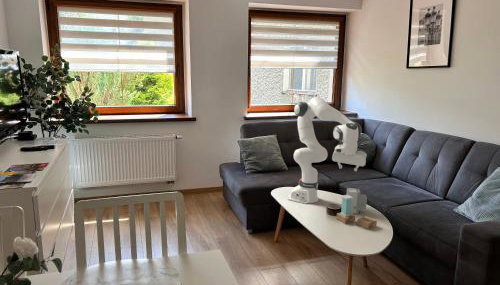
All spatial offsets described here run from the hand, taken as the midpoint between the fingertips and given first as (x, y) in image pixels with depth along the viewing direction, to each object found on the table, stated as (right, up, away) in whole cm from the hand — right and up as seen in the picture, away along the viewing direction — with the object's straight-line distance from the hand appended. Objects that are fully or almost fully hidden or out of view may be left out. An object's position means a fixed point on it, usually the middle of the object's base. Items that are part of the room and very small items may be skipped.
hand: (347, 169), depth 232 cm
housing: (-1, -29, +1) cm, 29 cm away
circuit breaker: (+10, -30, +16) cm, 35 cm away
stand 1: (-1, -32, +1) cm, 33 cm away
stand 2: (+10, -34, -6) cm, 36 cm away
